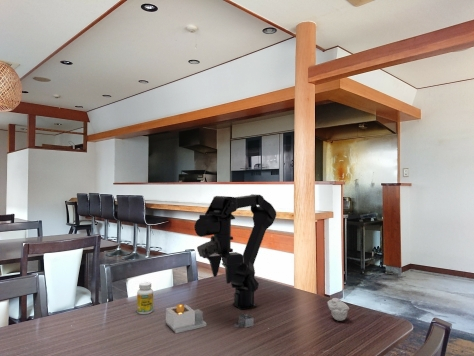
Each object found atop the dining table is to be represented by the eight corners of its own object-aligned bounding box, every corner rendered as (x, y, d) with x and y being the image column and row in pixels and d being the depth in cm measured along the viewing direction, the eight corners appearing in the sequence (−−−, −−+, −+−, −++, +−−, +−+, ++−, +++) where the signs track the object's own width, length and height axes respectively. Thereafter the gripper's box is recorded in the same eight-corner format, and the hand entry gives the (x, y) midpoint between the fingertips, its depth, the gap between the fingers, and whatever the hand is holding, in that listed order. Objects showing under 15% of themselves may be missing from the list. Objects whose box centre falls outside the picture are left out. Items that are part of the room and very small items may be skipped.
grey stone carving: (327, 315, 115) (328, 294, 115) (349, 318, 113) (349, 297, 113) (326, 321, 110) (326, 300, 110) (349, 325, 107) (349, 303, 107)
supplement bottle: (149, 307, 119) (150, 280, 120) (155, 312, 115) (155, 284, 115) (134, 310, 117) (135, 282, 117) (139, 315, 112) (140, 286, 112)
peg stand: (195, 317, 112) (195, 297, 112) (206, 326, 105) (206, 305, 105) (166, 323, 106) (166, 302, 106) (175, 333, 99) (176, 311, 100)
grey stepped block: (246, 321, 109) (246, 311, 109) (253, 325, 106) (253, 315, 106) (232, 324, 106) (232, 314, 106) (238, 329, 103) (238, 319, 103)
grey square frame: (186, 316, 109) (186, 304, 109) (194, 324, 103) (195, 311, 103) (165, 321, 106) (166, 308, 106) (173, 329, 100) (174, 315, 100)
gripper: (189, 231, 117) (188, 276, 117) (214, 239, 101) (213, 291, 101) (217, 229, 123) (216, 272, 123) (245, 236, 107) (244, 285, 107)
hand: (221, 279), depth 113 cm, fingers open, 9 cm apart
